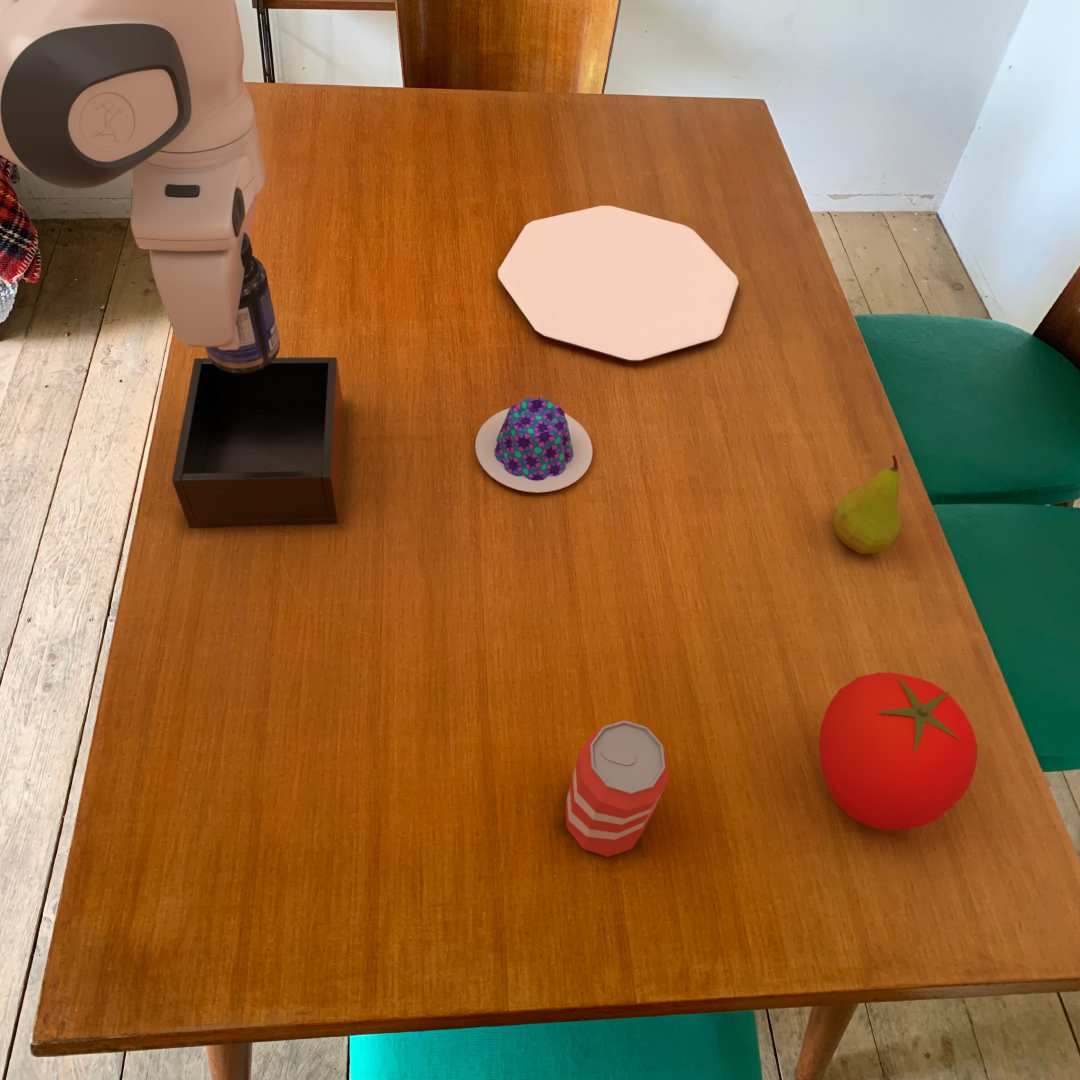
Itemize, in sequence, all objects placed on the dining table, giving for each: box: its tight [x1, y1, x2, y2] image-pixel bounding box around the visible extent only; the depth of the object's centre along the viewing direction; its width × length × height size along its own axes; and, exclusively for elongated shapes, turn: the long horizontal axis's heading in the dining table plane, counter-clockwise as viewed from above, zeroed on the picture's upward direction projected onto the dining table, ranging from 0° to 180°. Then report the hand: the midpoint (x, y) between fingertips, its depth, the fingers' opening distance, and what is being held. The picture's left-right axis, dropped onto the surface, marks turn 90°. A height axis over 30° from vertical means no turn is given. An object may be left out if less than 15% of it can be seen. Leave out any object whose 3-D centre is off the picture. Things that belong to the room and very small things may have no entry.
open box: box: [171, 356, 344, 529], centre depth 88 cm, size 14×16×7 cm
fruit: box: [833, 454, 902, 555], centre depth 86 cm, size 6×6×12 cm
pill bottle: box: [204, 232, 281, 374], centre depth 75 cm, size 6×6×11 cm
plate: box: [497, 205, 740, 362], centre depth 111 cm, size 28×28×2 cm
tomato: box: [818, 671, 978, 831], centre depth 70 cm, size 11×11×13 cm
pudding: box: [474, 397, 593, 493], centre depth 92 cm, size 12×12×5 cm
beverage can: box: [565, 719, 670, 858], centre depth 67 cm, size 6×6×12 cm
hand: (234, 313), depth 76 cm, fingers closed on pill bottle, 6 cm apart
